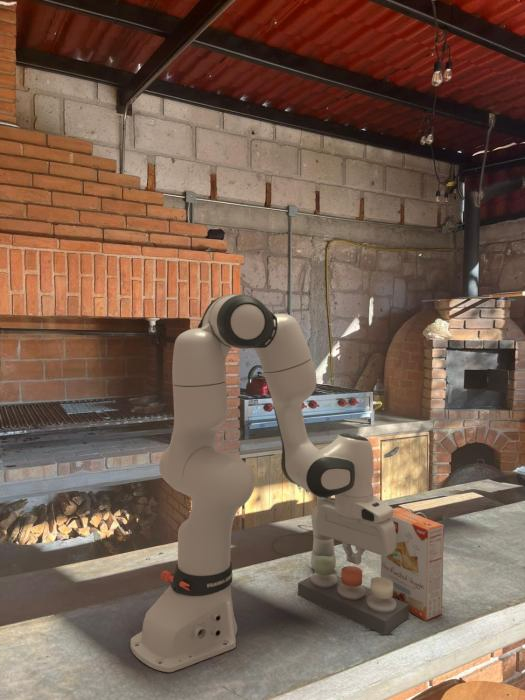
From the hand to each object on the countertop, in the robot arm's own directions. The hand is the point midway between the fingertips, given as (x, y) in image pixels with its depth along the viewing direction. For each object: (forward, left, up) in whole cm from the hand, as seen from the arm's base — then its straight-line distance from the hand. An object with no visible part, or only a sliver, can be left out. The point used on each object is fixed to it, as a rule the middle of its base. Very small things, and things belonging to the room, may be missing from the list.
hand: (353, 562), depth 124 cm
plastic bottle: (+10, +16, -10) cm, 22 cm away
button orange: (0, 0, -4) cm, 5 cm away
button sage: (0, +8, -4) cm, 9 cm away
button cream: (0, -8, -4) cm, 9 cm away
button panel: (0, 0, -10) cm, 10 cm away
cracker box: (+10, -9, -10) cm, 17 cm away
